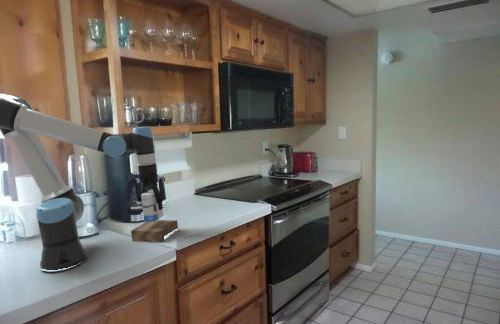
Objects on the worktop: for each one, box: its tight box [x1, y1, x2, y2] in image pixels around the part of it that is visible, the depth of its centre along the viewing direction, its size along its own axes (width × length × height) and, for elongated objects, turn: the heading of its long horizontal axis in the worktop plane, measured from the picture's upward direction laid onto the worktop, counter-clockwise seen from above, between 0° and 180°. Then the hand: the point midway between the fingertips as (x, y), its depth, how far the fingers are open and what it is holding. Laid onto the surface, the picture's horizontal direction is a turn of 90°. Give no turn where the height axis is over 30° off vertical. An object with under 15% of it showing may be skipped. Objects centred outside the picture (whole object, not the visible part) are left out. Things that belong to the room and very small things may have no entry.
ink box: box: [141, 189, 164, 223], centre depth 144 cm, size 8×5×12 cm, turn 168°
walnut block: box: [130, 219, 179, 244], centre depth 146 cm, size 14×14×5 cm
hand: (153, 216), depth 145 cm, fingers closed on ink box, 5 cm apart
